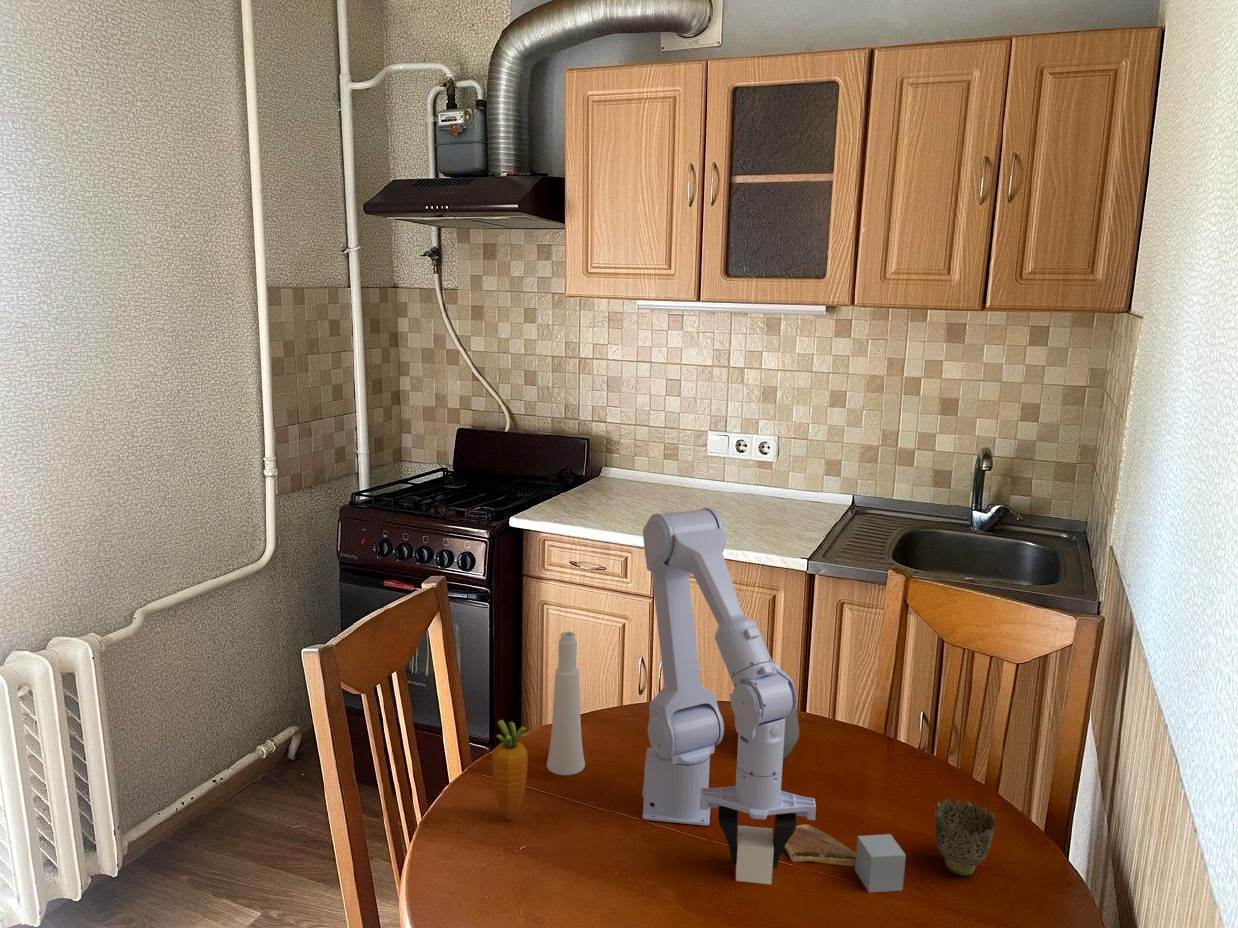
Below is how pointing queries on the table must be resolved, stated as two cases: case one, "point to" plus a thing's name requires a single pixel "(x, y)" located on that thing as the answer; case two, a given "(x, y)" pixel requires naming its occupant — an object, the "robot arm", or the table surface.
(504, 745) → the carrot
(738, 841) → the cream block
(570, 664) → the cosmetic bottle
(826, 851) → the shard
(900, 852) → the slate block
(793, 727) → the cup
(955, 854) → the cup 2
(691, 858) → the table surface
